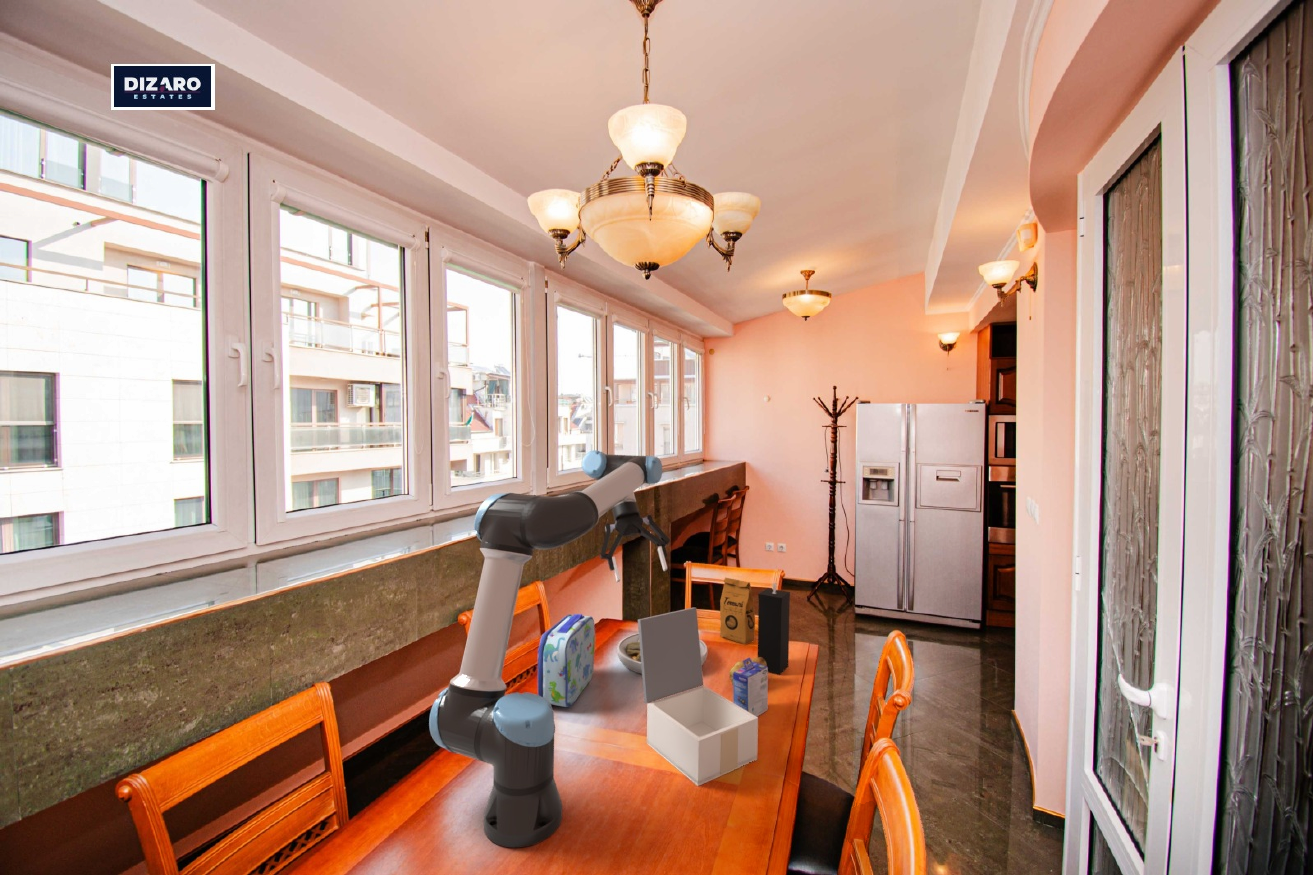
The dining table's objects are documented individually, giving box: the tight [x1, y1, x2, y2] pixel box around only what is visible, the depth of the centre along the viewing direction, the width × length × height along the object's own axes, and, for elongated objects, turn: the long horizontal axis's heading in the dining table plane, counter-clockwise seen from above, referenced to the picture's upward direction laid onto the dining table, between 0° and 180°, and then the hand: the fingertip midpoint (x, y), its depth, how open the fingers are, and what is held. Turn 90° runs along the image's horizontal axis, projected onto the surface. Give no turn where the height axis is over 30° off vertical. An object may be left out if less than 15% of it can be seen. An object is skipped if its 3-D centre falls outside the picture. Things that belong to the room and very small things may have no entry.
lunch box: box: [537, 613, 596, 708], centre depth 168 cm, size 26×11×21 cm, turn 168°
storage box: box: [646, 684, 759, 787], centre depth 138 cm, size 20×18×10 cm
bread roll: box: [728, 656, 767, 685], centre depth 174 cm, size 13×10×8 cm
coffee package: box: [719, 577, 756, 646], centre depth 211 cm, size 10×12×22 cm
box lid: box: [637, 607, 704, 704], centre depth 148 cm, size 20×18×1 cm
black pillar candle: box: [757, 582, 791, 676], centre depth 186 cm, size 8×8×28 cm
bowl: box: [616, 632, 708, 675], centre depth 192 cm, size 30×30×8 cm
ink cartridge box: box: [732, 657, 769, 717], centre depth 157 cm, size 10×6×14 cm, turn 137°
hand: (642, 575), depth 160 cm, fingers open, 13 cm apart
